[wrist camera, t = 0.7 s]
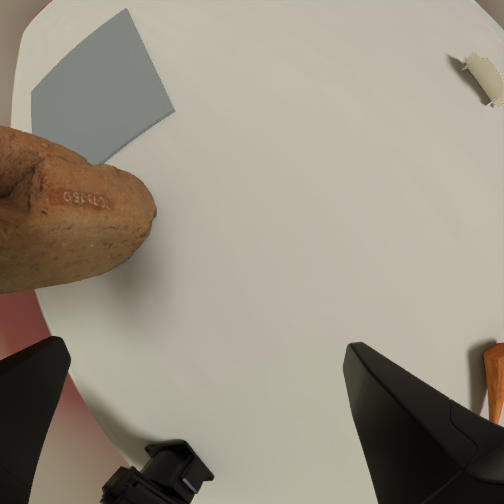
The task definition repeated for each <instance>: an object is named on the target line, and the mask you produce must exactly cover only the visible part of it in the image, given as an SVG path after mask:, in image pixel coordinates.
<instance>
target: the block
mask: <svg viewBox="0 0 504 504" xmlns="http://www.w3.org/2000/svg"><path fill="white" fill-rule="evenodd" d="M156 213H157V209H156V206H155V203H154V200H153V197H152V195H151V193H150V192H149V191H148V189H147V187H146V186H145V185H144V183H143V182H142V181H141V180H140V179H139V178H137V177H136V176H134V175H132V174H130V173H129V172H126V171H123V170H120V169H117V168H116V167H114V166H111V165H107V164H104V163H103V164H97V165H92V164H90V163H89V162H87V159H86V158H84V157H83V156H81V155H79V154H78V153H77V152H75V151H72V150H70V149H68V148H66V147H64V146H62V145H60V144H57V143H54V142H51V141H49V140H47V139H45V138H43V137H40V136H37V135H34V134H30V133H27V132H22V131H20V130H17V129H13V128H9V127H4V126H0V294H3V293H11V292H18V291H25V290H31V289H37V288H42V287H48V286H53V285H59V284H66V283H71V282H75V281H79V280H82V279H86V278H89V277H93V276H97V275H101V274H103V273H105V272H107V271H110V270H112V269H113V268H115V267H117V266H118V265H120V264H121V263H123V262H125V261H126V260H127V259H128V258H129V257H130V256H132V255H133V253H134V251H135V250H137V249H138V248H139V247H140V246H141V245H142V243H143V242H144V240H145V239H146V238H147V237H148V235H149V233H150V231H151V227H152V220H153V219H154V218H155V217H156Z"/></svg>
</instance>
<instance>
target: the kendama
mask: <svg viewBox="0 0 504 504" xmlns="http://www.w3.org/2000/svg"><path fill="white" fill-rule="evenodd" d="M483 356H484V363H485V370H486V379H487V389H488V404H489V421H491V422H493V423H495V424H498V422H499V418H500V414H501V410H502V405H503V401H504V343H497V344H495V345H493V346H492V347H490V348H489V349H487V350H486V351H484V354H483Z"/></svg>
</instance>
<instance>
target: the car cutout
mask: <svg viewBox="0 0 504 504" xmlns="http://www.w3.org/2000/svg"><path fill="white" fill-rule="evenodd" d="M464 60H465V61H466V63H467V64H466V66H464V67H463V68H462V70H465V69H469V71H470V72H471V73H472V74H473V76H474V77H475V78H476V80H477V81H478V82H479V84H480V85H481V87H482V88H483V89H484V91H485V92H486V94H487V95H488V97H489V98H490V100H491V102H490V103H489V104H491V103H493V104H494V105H496V104H497V105H498V107H499V108H500V109H501V108H502V105H501V104H503V103H504V89H503V87H504V79H503V77H502V75H501V74H500V72H499V71H498V69H497V68H496V67H495V65H494V64H493V63H492V62H491V61H490V60H489V59H488V58H480V56H479V55H478V54H476V53H471V54H470V55H469V57H468V58H466V57H465V58H464ZM462 70H461V71H462ZM489 104H487V105H489ZM487 105H486V106H487Z"/></svg>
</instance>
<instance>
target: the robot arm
mask: <svg viewBox="0 0 504 504" xmlns="http://www.w3.org/2000/svg"><path fill="white" fill-rule="evenodd" d="M70 364H71V357H70V354H69V352H68V350H67V347H66V345H65V343H64V340H63V339H62V338H61V337H57V336H50V337H48V338H46V339H44V340H42V341H40V342H38V343H35V344H33V345H31V346H29V347H27V348H25V349H23V350H21V351H19V352H17V353H15V354H13V355H11V356H9V357H6V358H4V359H3V360H0V504H28V502H29V497H30V492H31V487H32V483H33V478H34V475H35V471H36V467H37V464H38V460H39V457H40V453H41V450H42V447H43V444H44V440H45V438H46V434H47V432H48V428H49V426H50V423H51V420H52V417H53V415H54V412H55V409H56V407H57V404H58V402H59V399H60V395H61V393H62V389H63V386H64V383H65V379H66V376H67V373H68V370H69V367H70ZM343 373H344V378H345V382H346V387H347V392H348V397H349V403H350V408H351V413H352V416H353V420H354V423H355V426H356V429H357V432H358V436H359V439H360V442H361V445H362V448H363V452H364V455H365V458H366V462H367V465H368V468H369V472H370V475H371V479H372V482H373V486H374V489H375V493H376V497H377V500H378V504H504V427H502V426H500V425H498V424H495V423H493V422H491V421H489V420H487V419H485V418H483V417H481V416H479V415H477V414H475V413H473V412H472V411H470V410H468V409H467V408H465V407H463V406H462V405H460V404H458V403H457V402H455V401H454V400H452V399H449V397H447V396H445V395H444V394H442V393H441V392H439V391H438V390H436V389H434V388H433V387H431V386H430V385H428V384H427V383H425V382H423V381H422V380H420V379H419V378H417V377H416V376H414V375H412V374H411V373H409V372H408V371H406V370H405V369H403V368H402V367H400V366H399V365H397V364H395V363H394V362H392V361H391V360H389V359H388V358H386V357H385V356H383V355H382V354H380V353H379V352H377V351H375V350H374V349H372V348H371V347H369V346H368V345H366V344H365V343H363V342H354V343H350V344H348V346H347V349H346V354H345V358H344V363H343ZM145 451H146V452H147V453H148V454H149V456H150V457H151V459H150V460H149V461H148V463H147V464H146V465H145V466H144V468H143V469H142V470H141V471H140V472H139V471H138V470H136V468H135V467H134V466H131V467H130V468H129V469H128V468H125V467H122V466H121V467H120V468H119V469H118V470H117V471H116V472H115V473H114V474H113V475H112V477H111V478H110V479H109V480H108V481H107V482H106V484H105V485H104V486H103V487H102V491H103V495H102V499H101V500H100V503H102V504H190V503H191V501H192V499H193V497H194V495H195V494H197V493H198V492H199V490H200V488H201V485H202V483H203V481H212V480H213V479H214V475H213V474H212V473H211V472H210V471H209V469H208V468H207V467H206V466H205V465H204V463H203V462H202V461H201V460H200V458H199V457H198V456H197V455H196V453H195V452H194V451H193V449H192V448H191V447H190V446H189V444H188V443H186V442H184V441H182V442H175V443H167V444H158V445H148V446H146V447H145Z"/></svg>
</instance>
